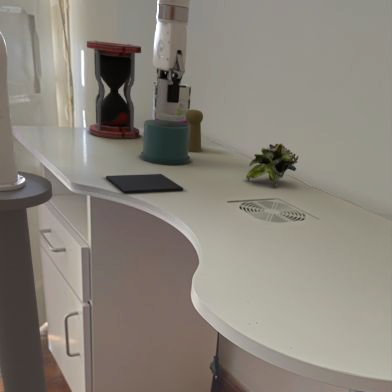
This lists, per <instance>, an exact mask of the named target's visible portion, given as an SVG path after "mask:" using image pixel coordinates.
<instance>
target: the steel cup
mask: <svg viewBox="0 0 392 392" xmlns="http://www.w3.org/2000/svg"><path fill="white" fill-rule="evenodd" d="M157 82H158V93H157V112H160V113H165V114H177V106H178V103H169V102H167V87H168V84H169V79H164V78H159V79H158V81H157Z"/></svg>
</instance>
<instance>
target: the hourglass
mask: <svg viewBox="0 0 392 392" xmlns="http://www.w3.org/2000/svg"><path fill="white" fill-rule="evenodd" d="M86 48H87V49H93V55H94V56H93V61H94V76H95V80H96V81H97V86H98V91H97V95H96V97H95V100H94V101H95V123H93V124H90V125H89V128H88V129H89V133H90V134H92V135H94V136H98V137H102V138H109V139H134V138H138V137H139V136H140V130H139V128H138V127H135V106H134V102H133V100H132V97H131V91H132V87H133V86H134V83H135V79H136V78H135V77H136V76H135V74H136V73H135V72H136V71H135V70H136V69H135V68H136V66H135V65H136V54H142V46H140V45H135V44H131V43H130V44H129V43H117V42H108V41H98V40H86ZM103 82H104V83H105V85H106V86H107V87H108V88H109V92H108V93H107V95H105V94H106V89H105V85H104V83H103ZM122 87H123V88H122ZM121 88H122V91H123V97H124V98H125V99H124V98H123V97H122V95H121V94H120V92H119V90H120V89H121Z"/></svg>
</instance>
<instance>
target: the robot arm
mask: <svg viewBox="0 0 392 392" xmlns="http://www.w3.org/2000/svg"><path fill="white" fill-rule="evenodd" d="M190 1H191V0H157V8H156V9H157V10H156V11H157V12H156V22H157V23H156V26H155V27H156V28H155V33H154V42H153V54H152V66H153V67H154V68H155V69H156V74H157V75H156V81H157V82H156V83H157V93H158V79H159V78H164V79H169V84H168V87H167V102H169V103H178V102H179V92H180V85H181V84H182V79H183V77H184V74H185V72H186V62H187V61H186V60H187V44H188V43H187V36H188V33H187V31H188V29H187V26H188V25H189V14H190ZM8 88H9V87H8V49H7V44H6V40H5V38H4V35H3V33H2V32H1V30H0V191H11V190H16V189H19V188H22V187H24V186H25V185H26V181H25V178H24V177H23V176H21V175H18V174H17V171H18V167H17V158H16V149H15V141H14V131H13V122H12V114H11V107H10V98H9V97H10V96H9V89H8Z"/></svg>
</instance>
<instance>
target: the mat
mask: <svg viewBox="0 0 392 392" xmlns="http://www.w3.org/2000/svg"><path fill="white" fill-rule="evenodd" d="M105 179H106V180H107V181H109V182H110V183H111V184H112V185H114V186H115V187H116V188H117V189H118V190H120V191H121V192H122V193H123V194H143V193H144V194H145V193H163V192H180V191H184V187H182V186H181V185H179V184H178V183H176V182H175V181H173V180H171V179H170V178H168V177H167V176H166V175H164V174H162V173H150V174H149V173H148V174H147V173H145V174H117V175H106V176H105Z"/></svg>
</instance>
